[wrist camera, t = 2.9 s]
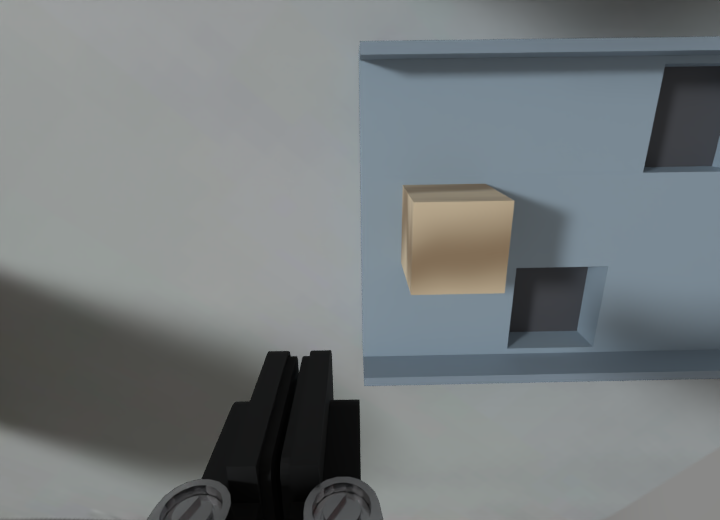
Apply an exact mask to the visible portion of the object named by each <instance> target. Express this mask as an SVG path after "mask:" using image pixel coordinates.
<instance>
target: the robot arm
mask: <svg viewBox="0 0 720 520" xmlns="http://www.w3.org/2000/svg"><path fill="white" fill-rule="evenodd" d="M147 520H383V516H382V512H381V507H380V503H379V500H378V498H377V495H376V493H375V491H374V490H373V489H372V488H371V487H370V486H369V485H368V484H366V483H365V482H363V481H361V469H360V405H359V400H333V375H332V353H331V350H327V351H311V352H310V356H303V358H302V362H301V367H300V371H299V369H298V358H297V356H293V357H291V355H290V352H289V351H269V352H268V353H267V356H266V359H265V362H264V364H263V367H262V370H261V373H260V375H259V378H258V381H257V383H256V386H255V389H254V392H253V394H252V397H251V400H250V402H235V403H234V404H233V406H232V408H231V410H230V413H229V415H228V417H227V420H226V422H225V424H224V427H223V429H222V432H221V434H220V436H219V439H218V441H217V443H216V446H215V448H214V451H213V453H212V455H211V458H210V460H209V463H208V465H207V467H206V470H205V472H204V474H203V477H202V479H198V480H194V481H190V482H186V483H184V484H182V485H180V486H178V487H176V488H174V489H173V490H172V491H170V492H169V493H168V494H166V495H165V496H164V497H163V498H162V499H161V501H160V502H159V503H158V504H157V505H156V507H155V508H154V510H153V511H152V512H151V514H150V515H149V517H148V518H147Z"/></svg>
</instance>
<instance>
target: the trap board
mask: <svg viewBox="0 0 720 520" xmlns="http://www.w3.org/2000/svg"><path fill="white" fill-rule="evenodd" d="M359 104H360V180H361V256H362V333H363V366H364V386H387V385H435V384H483V383H530V382H578V381H626V380H673V379H720V37H644V38H567V39H490V40H412V41H360V47H359ZM431 184H487V185H489V186H490V187H492V188H494V189H495V190H497V191H499V192H500V193H502V194H504V195H506V196H507V197H509V198H511V199H512V200H514V201H515V202H514V211H513V220H512V229H511V238H510V248H509V257H508V266H507V275H506V284H505V293H494V294H441V295H411V293H410V290H409V287H408V284H407V280H406V277H405V274H404V271H403V267H402V264H401V242H402V191H403V185H431Z"/></svg>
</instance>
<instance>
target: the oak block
mask: <svg viewBox="0 0 720 520" xmlns="http://www.w3.org/2000/svg"><path fill="white" fill-rule="evenodd" d="M514 202H515V201H514V200H512V199H511V198H509V197H507V196H506V195H504V194H502V193H500V192H499V191H497V190H495V189H494V188H492V187H490V186H489V185H487V184H431V185H403V191H402V242H401V264H402V267H403V271H404V274H405V277H406V280H407V284H408V287H409V290H410V293H411V295H441V294H494V293H505V284H506V275H507V266H508V257H509V248H510V238H511V229H512V220H513V211H514Z"/></svg>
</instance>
